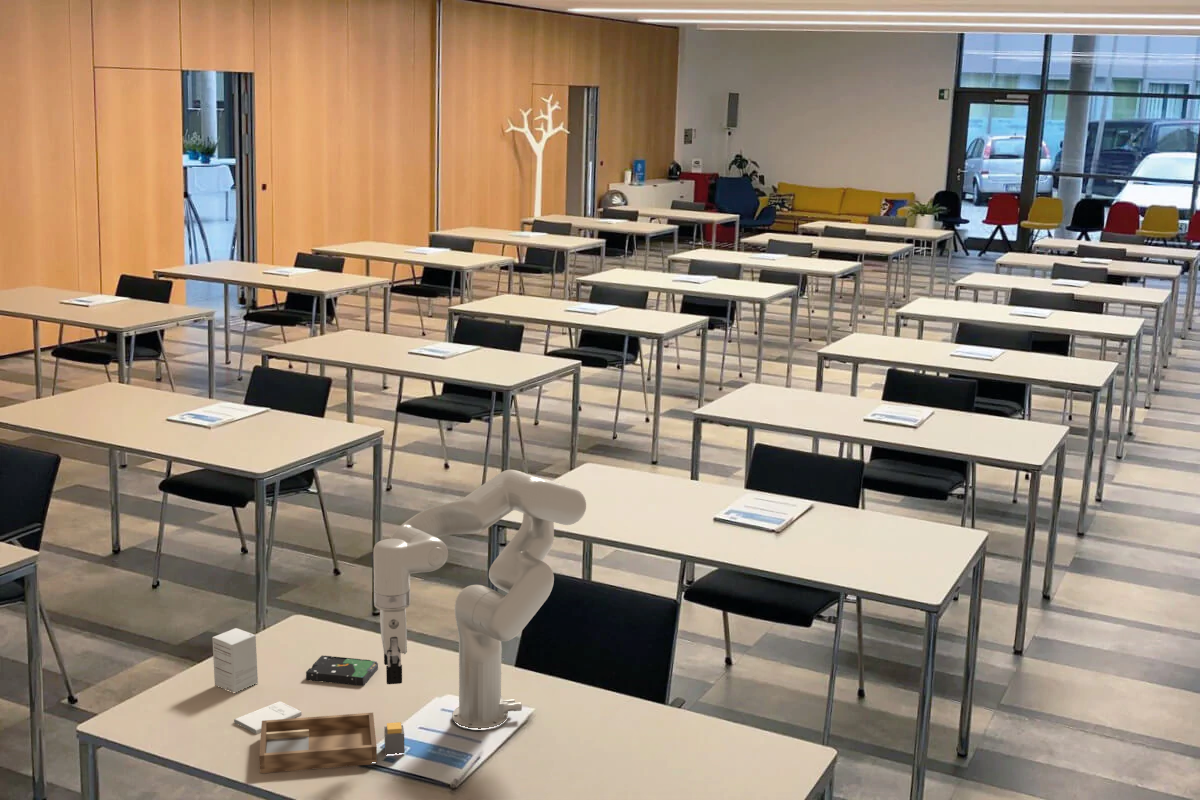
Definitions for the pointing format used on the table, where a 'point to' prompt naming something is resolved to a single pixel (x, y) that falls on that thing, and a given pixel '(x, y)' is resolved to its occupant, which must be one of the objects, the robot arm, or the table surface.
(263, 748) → the crate
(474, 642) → the robot arm
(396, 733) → the block
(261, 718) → the external hard drive
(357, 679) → the disk drive
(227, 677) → the supplement box
